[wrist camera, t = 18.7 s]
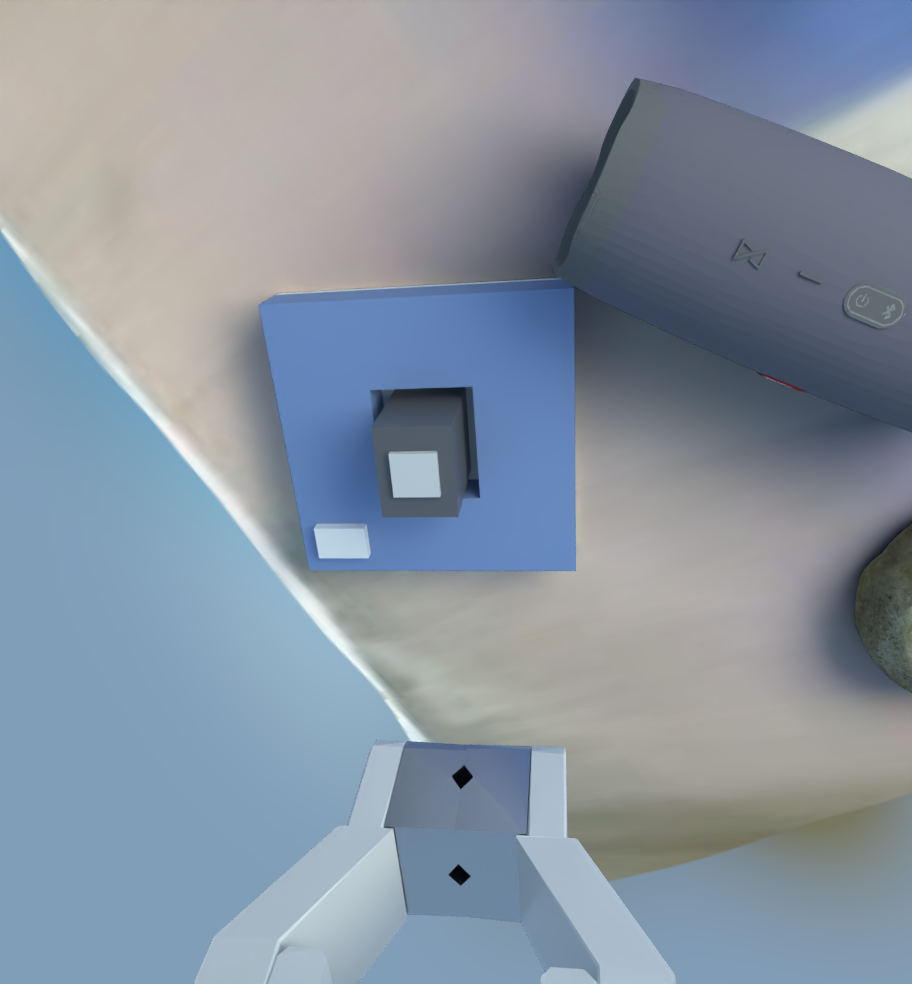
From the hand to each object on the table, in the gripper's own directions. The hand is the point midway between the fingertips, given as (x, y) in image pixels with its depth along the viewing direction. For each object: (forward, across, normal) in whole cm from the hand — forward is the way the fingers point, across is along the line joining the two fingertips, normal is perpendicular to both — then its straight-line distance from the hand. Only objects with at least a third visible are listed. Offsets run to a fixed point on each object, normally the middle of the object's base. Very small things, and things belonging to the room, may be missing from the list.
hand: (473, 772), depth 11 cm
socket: (+31, +6, +6) cm, 32 cm away
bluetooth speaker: (+31, -13, -2) cm, 34 cm away
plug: (+30, +6, +6) cm, 32 cm away
